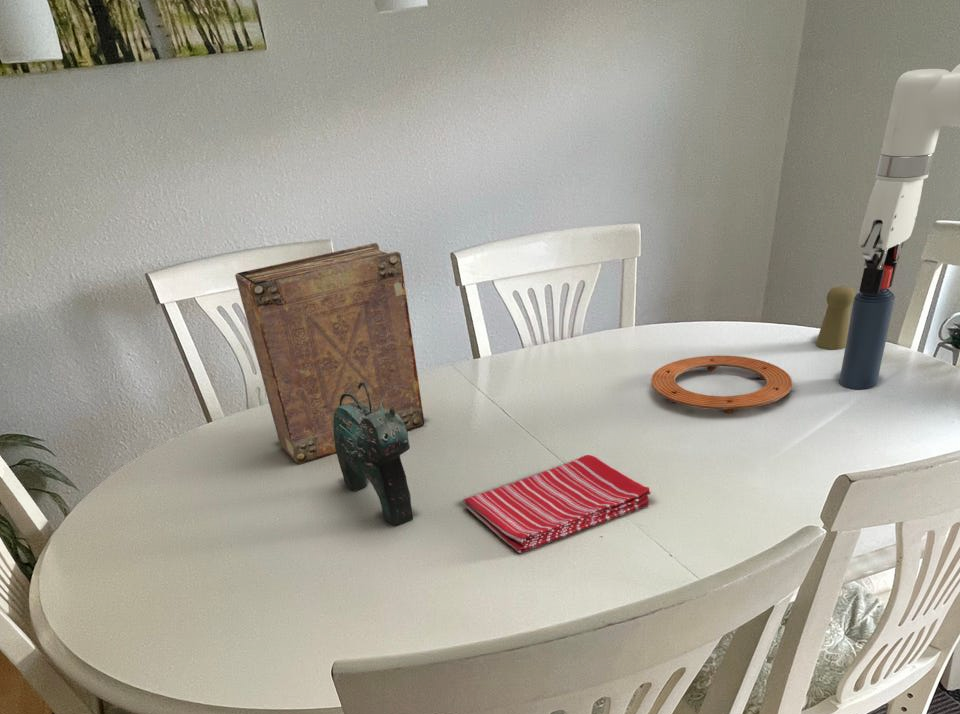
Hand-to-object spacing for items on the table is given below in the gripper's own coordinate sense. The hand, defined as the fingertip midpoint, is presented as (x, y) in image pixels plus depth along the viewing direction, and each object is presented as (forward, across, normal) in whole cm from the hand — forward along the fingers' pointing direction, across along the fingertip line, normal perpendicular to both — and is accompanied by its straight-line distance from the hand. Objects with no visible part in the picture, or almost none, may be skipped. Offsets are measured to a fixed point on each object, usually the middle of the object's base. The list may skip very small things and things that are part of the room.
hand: (875, 288), depth 134 cm
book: (+18, +72, -59) cm, 95 cm away
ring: (+17, +17, -18) cm, 30 cm away
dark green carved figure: (+18, +85, -35) cm, 94 cm away
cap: (0, 0, 0) cm, 0 cm away
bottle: (+16, 0, +1) cm, 16 cm away
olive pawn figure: (+17, -16, -13) cm, 26 cm away
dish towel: (+17, +68, -12) cm, 71 cm away
